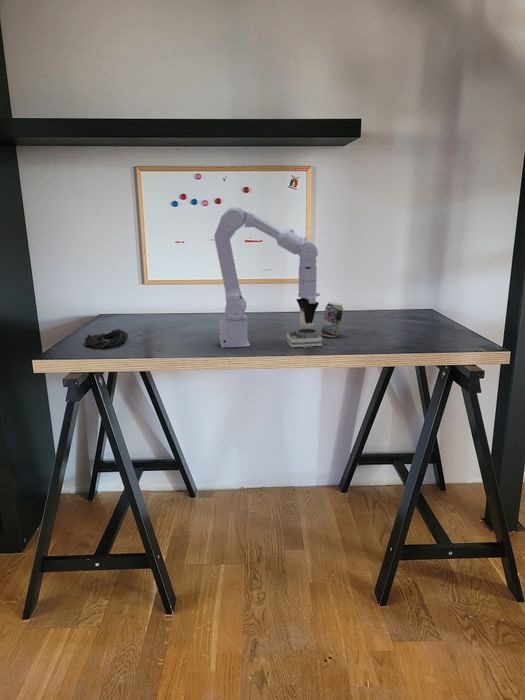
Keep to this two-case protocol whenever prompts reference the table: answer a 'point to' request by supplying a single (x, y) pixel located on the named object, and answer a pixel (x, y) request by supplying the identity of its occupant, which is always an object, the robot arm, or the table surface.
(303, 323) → the lens
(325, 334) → the beverage can
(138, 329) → the table surface
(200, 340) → the table surface
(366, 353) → the table surface
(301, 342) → the square housing with collar
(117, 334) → the cable
